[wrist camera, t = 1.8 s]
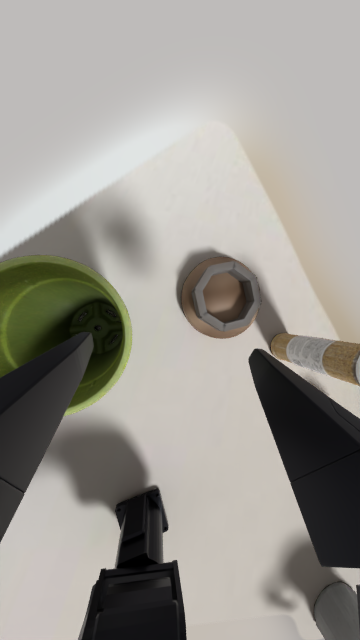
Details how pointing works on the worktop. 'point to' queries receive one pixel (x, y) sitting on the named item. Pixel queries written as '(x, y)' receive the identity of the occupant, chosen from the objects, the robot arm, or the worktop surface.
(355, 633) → the coffeepot
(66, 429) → the worktop surface
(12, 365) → the plant pot
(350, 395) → the worktop surface
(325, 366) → the sprinkles bottle
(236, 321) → the brown grey round base
